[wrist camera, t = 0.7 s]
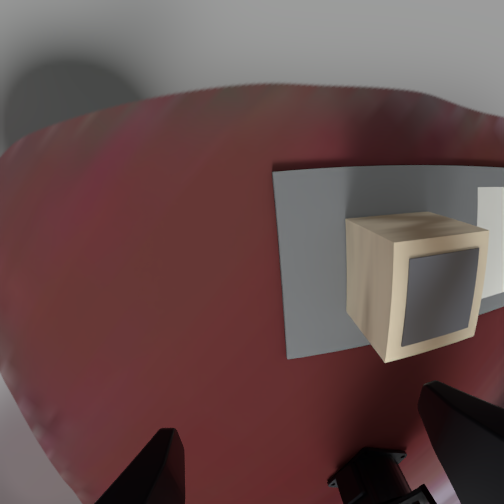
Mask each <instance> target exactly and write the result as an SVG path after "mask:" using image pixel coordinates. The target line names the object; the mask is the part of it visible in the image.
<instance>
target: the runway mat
mask: <svg viewBox="0 0 504 504" xmlns="http://www.w3.org/2000/svg"><path fill="white" fill-rule="evenodd" d="M272 177H273V188H274V199H275V210H276V221H277V233H278V245H279V257H280V270H281V283H282V297H283V311H284V326H285V341H286V356H287V359H294V358H300V357H306V356H312V355H318V354H324V353H330V352H335V351H340V350H345V349H350V348H355V347H360V346H365V345H370V342H369V341H368V340H367V338H366V337H365V336H364V334H363V333H362V332H361V330H360V329H359V328H358V326H357V325H356V324H355V323H354V321H353V320H352V319H351V317H350V316H349V315H348V313H347V312H346V301H347V260H346V223H345V219H348V218H358V217H369V216H380V215H392V214H403V213H415V212H431V213H435V214H438V215H442V216H445V217H448V218H452V219H455V220H458V221H462V222H465V223H468V224H471V225H474V226H477V227H480V228H483V229H486V230H489V242H488V253H487V263H486V271H485V279H484V285H483V292H482V298H481V304H480V309H479V314H478V315H480V314H483V313H486V312H489V311H492V310H495V309H498V308H501V307H503V306H504V168H500V167H481V166H451V165H388V166H355V167H334V168H317V169H302V170H289V171H277V172H272Z"/></svg>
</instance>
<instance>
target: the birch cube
mask: <svg viewBox="0 0 504 504" xmlns="http://www.w3.org/2000/svg"><path fill="white" fill-rule="evenodd" d="M345 223H346V260H347V301H346V312H347V313H348V315H349V316H350V317H351V319H352V320H353V321H354V323H355V324H356V325H357V326H358V328H359V329H360V330H361V332H362V333H363V334H364V336H365V337H366V338H367V340H368V341H369V342H370V344H371V345H372V346H373V348H374V349H375V350H376V352H377V353H378V354H379V356H380V357H381V359H382V360H383V361H384V363H387V362H391V361H395V360H398V359H402V358H406V357H409V356H413V355H417V354H420V353H423V352H427V351H430V350H433V349H437V348H440V347H443V346H446V345H449V344H452V343H455V342H458V341H461V340H464V339H467V338H469V337H472V336H474V333H475V329H476V324H477V319H478V314H479V309H480V304H481V298H482V292H483V285H484V279H485V271H486V263H487V253H488V242H489V230H486V229H483V228H480V227H477V226H474V225H471V224H468V223H465V222H462V221H458V220H455V219H452V218H448V217H445V216H442V215H438V214H435V213H431V212H415V213H403V214H392V215H380V216H369V217H358V218H348V219H345Z"/></svg>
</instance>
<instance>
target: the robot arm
mask: <svg viewBox="0 0 504 504" xmlns="http://www.w3.org/2000/svg"><path fill="white" fill-rule="evenodd" d="M418 411H419V414H420V416H421V419H422V421H423V424H424V426H425V429H426V431H427V434H428V436H429V439H430V441H431V444H432V446H433V449H434V451H435V453H436V455H437V457H438V459H439V461H440V463H441V465H442V466H443V468H444V470H445V472H446V474H447V476H448V478H449V480H450V482H451V484H452V486H453V488H454V490H455V492H456V494H457V496H458V498H459V500H460V502H461V504H504V409H503V408H501V407H498V406H496V405H493V404H491V403H489V402H486V401H484V400H481V399H479V398H476V397H474V396H472V395H469V394H467V393H465V392H462V391H460V390H458V389H455V388H453V387H451V386H448V385H446V384H444V383H441V382H439V381H436V380H435V381H431V382H429V383H426V384H424V385H423V387H422V390H421V394H420V398H419V401H418ZM406 456H407V454H406V452H405V451H395V450H385V449H376V448H364V449H362V450H361V451H360V452H359V453H358V454H357V455H356V456H355V457H354V458H353V459H352V460H351V461H350V462H349V463H348V464H347V465H346V466H345V467H344V468H342V469H341V470H340V471H339V472H338V473H337V474H336V475H335V476H334V477H333V478H332V479H330V480H329V481H328V482H327V484H328V486H329V487H338V489H339V492H340V495H341V498H342V501H343V504H437V503H436V502H435V500H434V499H433V497H432V495H431V494H430V492H429V491H428V489H427V487H426V486H425V484H422V485H421V486H419V488H417V489H415V490H413V491H411V489H410V487H409V485H408V483H407V481H406V479H405V477H404V475H403V473H402V471H401V469H400V467H399V465H398V464H399V463H400V462H401V461H402V460H403V459H404V458H405V457H406ZM94 504H185V461H184V447H183V444H182V442H181V439H180V437H179V434H178V432H177V430H176V429H175V428H161V429H159V430H158V432H157V433H156V434H155V435H154V436H153V438H152V439H151V440H150V441H149V442H148V443H147V445H146V446H145V447H144V448H143V449H142V450H141V452H140V453H139V454H138V455H137V456H136V457H135V458H134V460H133V461H132V462H131V463H130V464H129V465H128V466H127V468H126V469H125V470H124V471H123V472H122V473H121V474H120V476H119V477H118V478H117V479H116V480H115V481H114V482H113V483H112V485H111V486H110V487H109V488H108V489H107V490H106V491H105V492H104V493H103V495H102V496H101V497H100V498H99V499H98V500H97V501H96V502H95V503H94Z"/></svg>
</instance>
